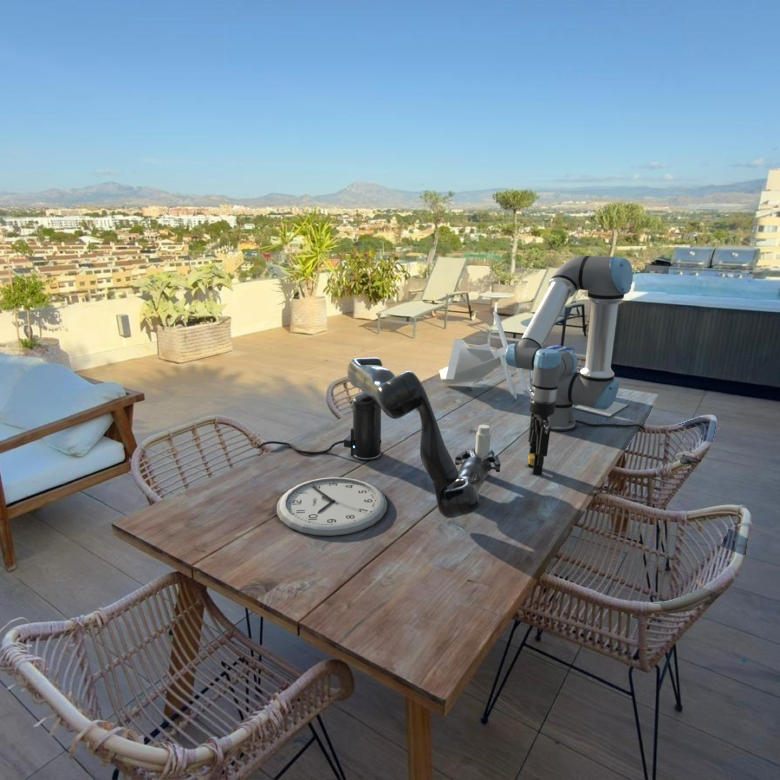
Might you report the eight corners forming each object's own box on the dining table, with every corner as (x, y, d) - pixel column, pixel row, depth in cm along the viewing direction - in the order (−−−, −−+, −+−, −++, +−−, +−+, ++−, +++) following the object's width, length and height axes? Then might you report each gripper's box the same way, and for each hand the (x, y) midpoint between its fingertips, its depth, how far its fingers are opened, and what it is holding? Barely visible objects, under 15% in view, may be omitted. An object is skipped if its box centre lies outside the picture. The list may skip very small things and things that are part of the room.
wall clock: (392, 527, 129) (268, 531, 127) (391, 533, 130) (269, 537, 127) (383, 473, 158) (282, 475, 155) (383, 478, 158) (282, 480, 156)
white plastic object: (461, 429, 252) (437, 405, 227) (444, 352, 274) (420, 323, 250) (535, 404, 240) (518, 377, 215) (510, 326, 262) (492, 293, 237)
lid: (526, 459, 168) (526, 452, 167) (541, 460, 167) (542, 453, 167) (529, 465, 163) (529, 459, 162) (544, 466, 163) (545, 459, 162)
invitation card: (608, 416, 214) (573, 407, 224) (608, 416, 214) (573, 408, 224) (628, 404, 229) (594, 396, 238) (628, 405, 229) (594, 397, 238)
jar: (483, 479, 159) (487, 430, 154) (471, 475, 161) (474, 426, 157) (489, 474, 162) (493, 425, 158) (477, 470, 165) (480, 422, 160)
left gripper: (498, 466, 144) (507, 444, 159) (448, 458, 148) (461, 436, 164) (496, 491, 146) (505, 466, 161) (446, 482, 151) (460, 458, 166)
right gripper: (523, 391, 168) (516, 458, 174) (539, 409, 150) (530, 482, 157) (546, 391, 168) (538, 458, 174) (564, 410, 151) (555, 483, 157)
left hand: (483, 451), depth 162 cm, fingers closed on jar, 4 cm apart
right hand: (534, 469), depth 166 cm, fingers closed on lid, 5 cm apart
